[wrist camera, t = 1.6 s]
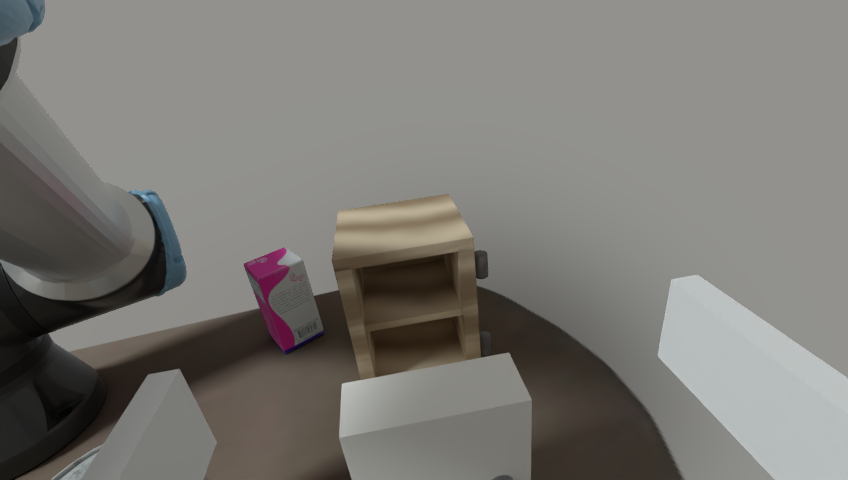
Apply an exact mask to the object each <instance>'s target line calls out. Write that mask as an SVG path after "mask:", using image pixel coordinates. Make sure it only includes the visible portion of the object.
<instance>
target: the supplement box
mask: <svg viewBox="0 0 848 480" xmlns="http://www.w3.org/2000/svg"><path fill="white" fill-rule="evenodd" d="M244 267H245V270H246V272H247V275H248V278H249V281H250V283H251V286H252V288H253V291H254V294H255V297H256V299H257V302H258V305H259V307H260V310H261V313H262V315H263V318H264V321H265V323H266V326H267V329H268V332H269V334H270V336H271V337H272V338H273V339H274V341H275V342H276V344H277V345H278V346H279V347H280V349H281V350H282V351H283V352H284V353H285V354H287V353H289V352H291V351H293V350H295V349H296V348H298V347H300V346H302V345H304V344H306V343H308V342H309V341H311V340H313V339H315V338H317V337H319V336H321V335H322V334H324V329H323V326H322V322H321V319H320V316H319V312H318V309H317V306H316V302H315V299H314V296H313V293H312V289H311V286H310V283H309V279H308V276H307V273H306V269H305V266H304V262H303V260H302V259H301V258H299V257H298V256H296V255H295V254H293V253H292V252H291V251H290V250H289V249H287V248H286V247H284V248H282V249H279V250H277V251H274V252H272V253H270V254H267V255H264V256H262V257H260V258H257V259H254V260H252V261H249V262H247V263H244Z"/></svg>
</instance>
